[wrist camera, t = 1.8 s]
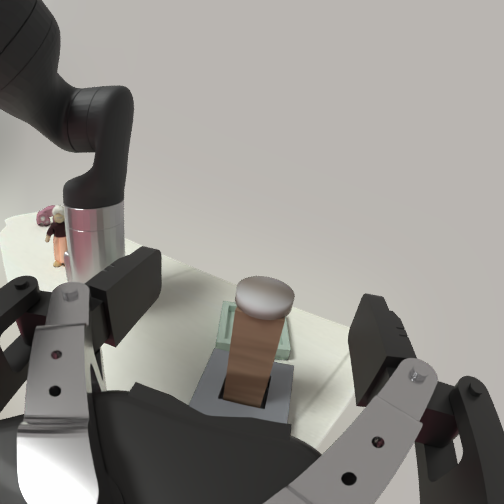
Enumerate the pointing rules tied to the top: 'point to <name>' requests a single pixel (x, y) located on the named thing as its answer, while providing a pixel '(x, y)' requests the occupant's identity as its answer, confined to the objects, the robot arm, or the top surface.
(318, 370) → the top surface
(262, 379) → the dark wooden pin
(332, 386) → the top surface
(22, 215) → the top surface
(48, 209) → the video game controller
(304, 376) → the top surface
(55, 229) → the grandmother figurine
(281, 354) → the sage green tray
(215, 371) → the charcoal holder
